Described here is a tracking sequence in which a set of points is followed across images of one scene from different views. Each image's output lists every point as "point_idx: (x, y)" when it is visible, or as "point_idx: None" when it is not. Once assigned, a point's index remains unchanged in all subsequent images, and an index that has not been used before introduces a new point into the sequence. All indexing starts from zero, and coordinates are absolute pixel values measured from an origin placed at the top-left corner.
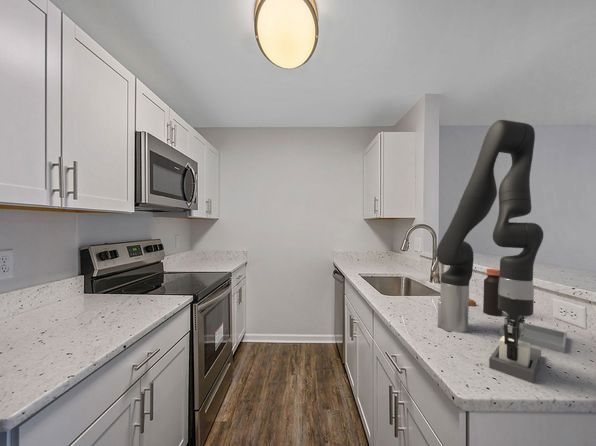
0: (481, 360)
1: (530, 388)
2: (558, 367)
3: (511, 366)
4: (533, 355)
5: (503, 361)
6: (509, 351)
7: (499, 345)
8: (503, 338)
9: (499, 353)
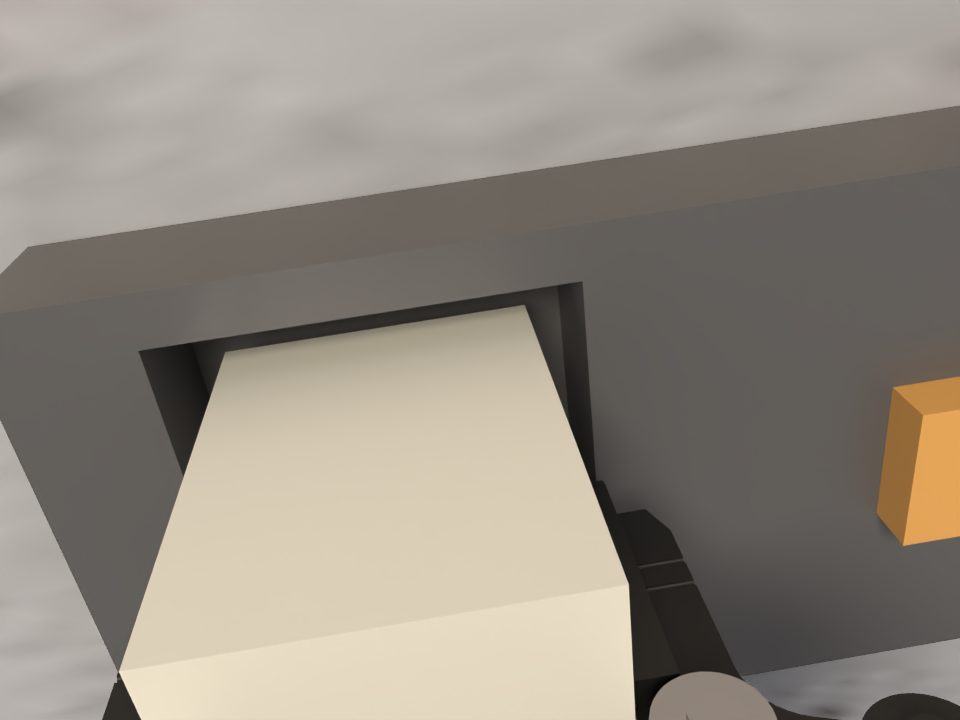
0: (175, 53)
1: (31, 682)
2: (914, 659)
3: (93, 586)
4: (823, 619)
5: (103, 495)
6: (120, 711)
7: (159, 563)
8: (395, 668)
9: (202, 444)
